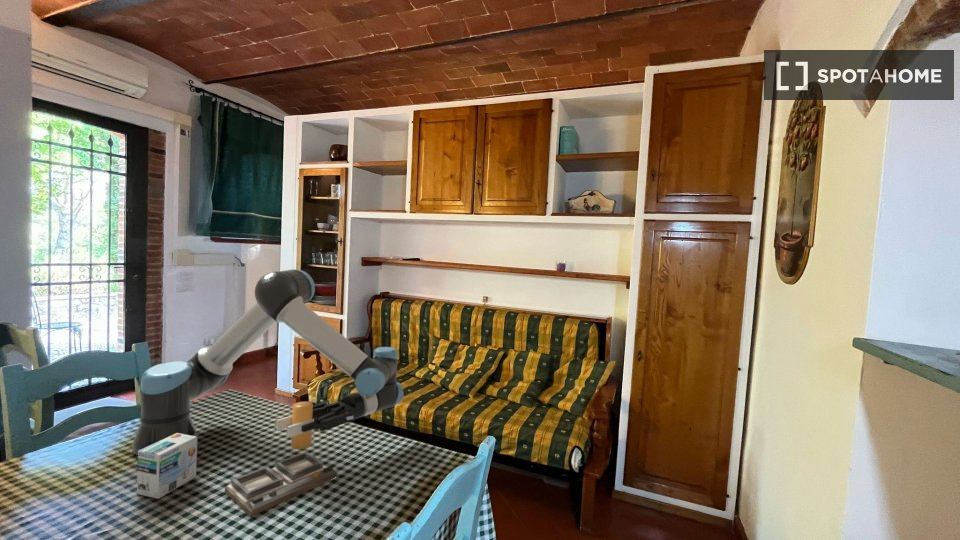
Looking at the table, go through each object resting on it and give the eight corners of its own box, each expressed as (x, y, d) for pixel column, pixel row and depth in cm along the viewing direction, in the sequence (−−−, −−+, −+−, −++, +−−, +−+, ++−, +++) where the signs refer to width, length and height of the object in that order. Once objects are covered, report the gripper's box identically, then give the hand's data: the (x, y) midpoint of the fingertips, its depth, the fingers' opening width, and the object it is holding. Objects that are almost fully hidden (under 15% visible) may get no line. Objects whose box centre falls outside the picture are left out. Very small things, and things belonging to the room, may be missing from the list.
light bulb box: (158, 499, 97) (159, 455, 97) (135, 494, 99) (135, 450, 98) (197, 476, 108) (198, 435, 107) (176, 471, 109) (177, 431, 109)
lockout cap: (287, 445, 111) (288, 404, 110) (305, 438, 115) (306, 400, 114) (297, 451, 108) (298, 410, 107) (315, 444, 112) (316, 404, 111)
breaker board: (224, 491, 102) (225, 479, 101) (308, 458, 119) (309, 448, 119) (250, 516, 93) (250, 503, 93) (336, 477, 111) (337, 465, 110)
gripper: (377, 425, 120) (300, 454, 101) (340, 408, 131) (265, 432, 112) (378, 400, 120) (301, 424, 101) (341, 385, 130) (266, 404, 112)
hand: (282, 428), depth 107 cm, fingers closed on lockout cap, 5 cm apart
